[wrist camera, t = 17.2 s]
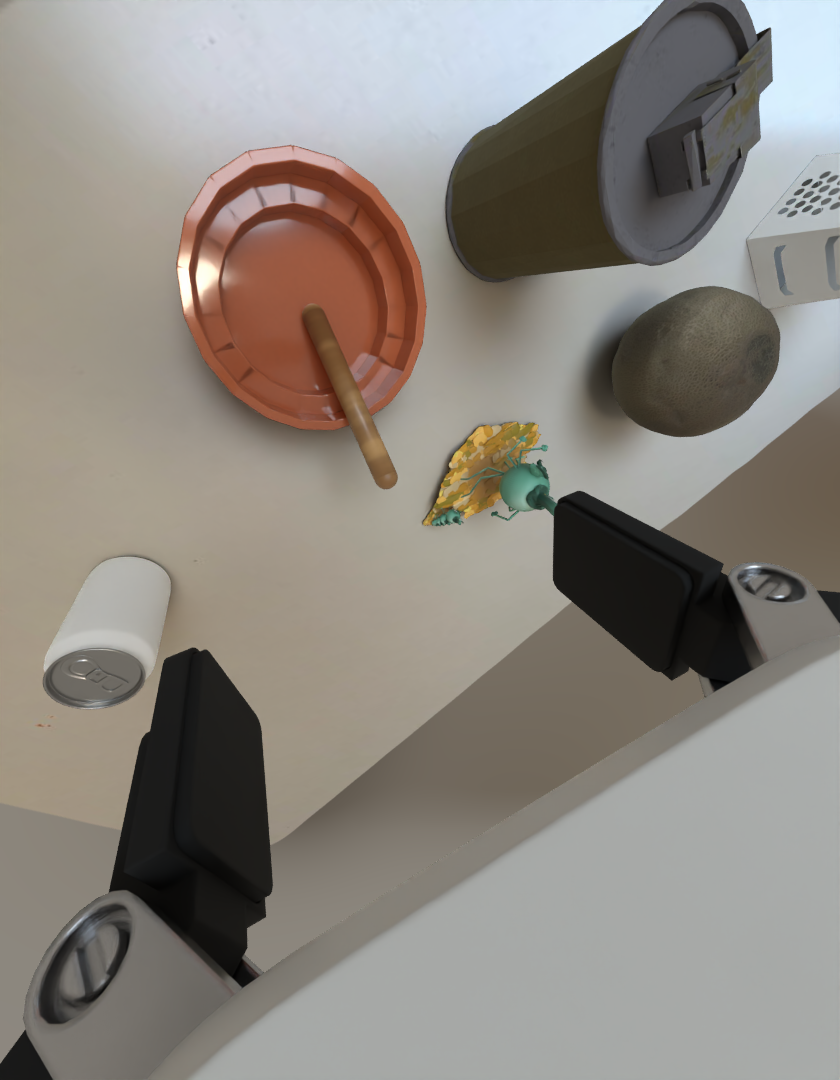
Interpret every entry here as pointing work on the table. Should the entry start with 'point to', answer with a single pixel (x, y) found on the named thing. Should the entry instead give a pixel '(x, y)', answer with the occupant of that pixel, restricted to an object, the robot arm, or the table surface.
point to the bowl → (299, 283)
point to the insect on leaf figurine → (493, 475)
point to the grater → (801, 241)
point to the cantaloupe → (696, 361)
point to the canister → (617, 151)
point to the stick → (349, 396)
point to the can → (109, 635)
